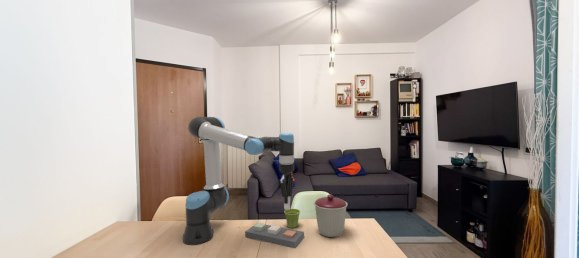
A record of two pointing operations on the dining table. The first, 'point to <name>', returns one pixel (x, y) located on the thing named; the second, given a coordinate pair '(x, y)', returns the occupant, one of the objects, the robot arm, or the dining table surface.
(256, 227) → the sage key
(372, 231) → the dining table surface
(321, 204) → the canister
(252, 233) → the keypad
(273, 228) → the cream key
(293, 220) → the plant pot
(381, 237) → the dining table surface
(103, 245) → the dining table surface
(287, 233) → the terracotta key
